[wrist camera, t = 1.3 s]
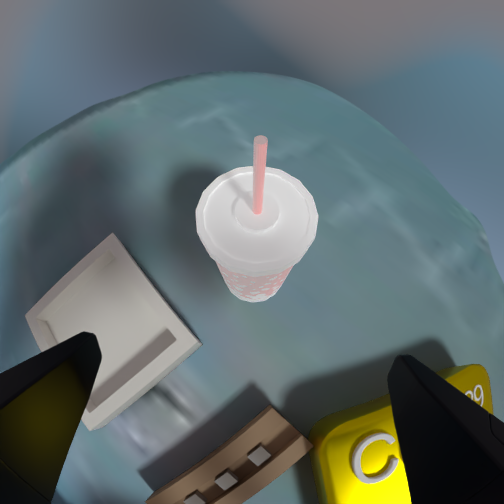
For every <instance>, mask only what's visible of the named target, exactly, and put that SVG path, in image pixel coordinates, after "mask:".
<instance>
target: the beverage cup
mask: <svg viewBox="0 0 504 504" xmlns="http://www.w3.org/2000/svg"><path fill="white" fill-rule="evenodd" d="M267 141H268V140H267V138H266V137H265V136H261V135H260V136H256V137H255V138H254V161H253V166H249V167H240V168H236V169H234V170H231V171H229V172H227V173H225V174H223V175H221V176H218V177H217V178H216V179H215V180H214V181H213V182H212V183H211V184H210V185H209V186H208V187H207V188H206V189H205V190H204V191H203V193H202V196H201V198H200V201H199V203H198V206H197V208H196V225H197V233H198V235H199V237H200V240H201V241H202V243H203V245H204V247H205V248H206V250H207V252H208V253H209V255H210V257H211V258H212V259H214V260H215V261H216V263H217V266H218V268H219V270H220V272H221V274H222V276H223V279H224V281H225V283H226V284H227V286H228V288H229V290H230V291H231V293H233V294H234V295H235V296H237V297H238V298H239V299H241V300H245V301H249V302H259V301H265V300H266V299H268V298H270V297H271V296H273V295H275V293H276V292H277V291H278V289H279V288H280V287H281V285H282V284H283V282H284V280H285V279H286V277H287V275H288V274H289V272H290V270H291V269H292V267H293V265H294V264H296V263H297V262H299V261H300V259H301V258H302V257H303V255H304V254H305V252H306V251H307V250H308V248H309V247H310V245H311V243H312V242H313V240H314V239H315V235H316V229H317V223H318V213H317V210H316V206H315V203H314V200H313V197H312V195H311V194H310V193H309V192H308V190H307V189H306V188H305V187H304V186H303V184H302V183H301V182H300V181H299V180H297V179H296V178H294V177H292V176H291V175H289V174H287V173H285V172H284V171H282V170H279V169H274V168H270V167H266V154H267Z"/></svg>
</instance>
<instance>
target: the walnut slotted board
mask: <svg viewBox="0 0 504 504" xmlns="http://www.w3.org/2000/svg"><path fill="white" fill-rule="evenodd" d="M313 447H314V445H313V444H312V443H311V442H310V441H309V440H308V439H307V438H306V437H305V436H304V435H302V434H301V433H300V432H299V431H298V430H297V429H296V428H295V427H294V426H292V425H291V424H290V423H289V422H288V421H287V420H286V419H285V418H284V417H283V416H282V415H281V414H279V413H278V412H277V411H276V410H275V409H274V408H273V407H272V406H271V405H269V406H267V407H266V408H265V409H264V410H263V411H262V412H261V413H260V414H258V415H257V416H256V417H255V418H254V419H253V420H251V421H250V422H249V423H248V424H247V425H245V426H244V427H243V428H242V429H241V430H239V431H238V432H237V433H236V434H235V435H233V436H232V437H231V438H230V439H228V440H227V441H226V442H225V443H223V444H222V445H221V446H219V447H218V448H217V449H216V450H214V451H213V452H212V453H210V454H209V455H208V456H206V457H205V458H203V459H202V460H201V461H199V462H198V463H197V464H195V465H194V466H192V467H191V468H190V469H188V470H187V471H185V472H184V473H182V474H181V475H179V476H178V477H176V478H175V479H173V480H172V481H170V482H169V483H167V484H166V485H164V486H163V487H161V488H160V489H158V490H156V491H155V492H153V494H152V495H151V496H150V497H149V498H148V499H147V500H146V501H145V503H147V504H242V503H243V502H245V501H246V500H247V499H249V498H250V497H252V496H253V495H255V494H256V493H257V492H259V491H260V490H261V489H263V488H264V487H266V486H267V485H268V484H269V483H271V482H272V481H273V480H275V479H276V478H277V477H279V476H280V475H281V474H282V473H284V472H285V471H286V470H287V469H288V468H290V467H291V466H292V465H293V464H294V463H296V462H297V461H298V460H299V459H300V458H301V457H302V456H304V455H305V454H306V453H307V452H308V451H309V450H310V449H311V448H313Z"/></svg>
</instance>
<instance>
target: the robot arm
mask: <svg viewBox="0 0 504 504" xmlns="http://www.w3.org/2000/svg"><path fill="white" fill-rule="evenodd" d="M101 361H102V353H101V350H100V346H99V343H98V340H97V337H96V335H95V334H94V333H90V332H86V331H83V332H81V333H79V334H77V335H75V336H73V337H71V338H69V339H67V340H65V341H63V342H61V343H59V344H57V345H55V346H53V347H51V348H49V349H47V350H45V351H43V352H41V353H39V354H37V355H36V356H34V357H32V358H30V359H28V360H26V361H24V362H22V363H20V364H18V365H16V366H14V367H12V368H10V369H8V370H6V371H4V372H3V373H1V374H0V504H51V501H52V498H53V495H54V492H55V489H56V486H57V483H58V480H59V477H60V474H61V471H62V468H63V465H64V462H65V459H66V456H67V454H68V451H69V448H70V446H71V443H72V440H73V438H74V435H75V433H76V430H77V428H78V425H79V423H80V420H81V418H82V415H83V413H84V411H85V408H86V406H87V403H88V401H89V398H90V395H91V392H92V389H93V385H94V382H95V379H96V376H97V373H98V370H99V367H100V364H101ZM387 381H388V387H389V394H390V400H391V407H392V413H393V420H394V425H395V429H396V433H397V437H398V442H399V446H400V450H401V455H402V459H403V464H404V469H405V473H406V478H407V484H408V489H409V495H410V500H411V504H504V423H503V422H502V421H501V420H499V419H498V418H496V417H495V416H494V415H492V414H491V413H489V412H488V411H487V410H486V409H484V408H483V407H481V406H480V405H479V404H477V403H476V402H475V401H473V400H472V399H471V398H469V397H468V396H467V395H465V394H464V393H462V392H461V391H460V390H458V389H457V388H456V387H454V386H453V385H451V384H450V383H449V382H447V381H446V380H445V379H443V378H442V377H440V376H439V375H438V374H436V373H435V372H434V371H432V370H431V369H429V368H428V367H427V366H425V365H424V364H423V363H421V362H420V361H418V360H417V359H416V358H414V357H413V356H411V355H409V354H405V355H398V356H397V357H396V358H395V360H394V363H393V365H392V367H391V369H390V372H389V374H388V379H387Z"/></svg>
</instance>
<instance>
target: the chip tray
mask: <svg viewBox="0 0 504 504" xmlns="http://www.w3.org/2000/svg"><path fill="white" fill-rule="evenodd" d="M25 318H26V320H27V322H28V325H29V327H30V329H31V331H32V334H33V336H34V338H35V340H36V342H37V344H38V346H39V348H40V350H41V352H43V351H45V350H47V349H49V348H51V347H53V346H55V345H57V344H59V343H61V342H63V341H65V340H67V339H69V338H71V337H73V336H75V335H77V334H79V333H81V332H83V331H86V332H90V333H94V334H95V335H96V337H97V340H98V343H99V346H100V350H101V353H102V361H101V364H100V367H99V370H98V373H97V376H96V379H95V382H94V385H93V389H92V392H91V395H90V398H89V401H88V403H87V406H86V408H85V411H84V413H83V415H82V418H81V420H82V421H83V423H84V424H85V425H86V427H87V428H88V430H89V431H91V430H95V429H98V428H102V427H104V426H105V425H106V424H108V423H109V422H110V421H111V420H113V419H114V418H115V417H116V416H118V415H119V414H120V413H121V412H123V411H124V410H125V409H126V408H128V407H129V406H130V405H131V404H133V403H134V402H135V401H136V400H138V399H139V398H140V397H141V396H142V395H144V394H145V393H146V392H147V391H149V390H150V389H151V388H152V387H153V386H155V385H156V384H157V383H158V382H159V381H161V380H162V379H163V378H164V377H165V376H167V375H168V374H169V373H170V372H171V371H173V370H174V369H175V368H176V367H177V366H178V365H180V364H181V363H182V362H183V361H184V360H186V359H187V358H188V357H189V356H190V355H191V354H193V353H194V352H195V351H196V350H197V349H198V348H199V347H201V346H202V345H203V344H202V343H201V342H200V341H199V340H198V338H197V337H196V336H195V335H194V334H193V333H192V332H191V330H190V329H189V328H188V327H187V326H186V325H185V323H184V322H183V321H182V320H181V319H180V317H179V316H178V315H177V314H176V313H175V311H174V310H173V309H172V308H171V307H170V305H169V304H168V303H167V302H166V300H165V299H164V298H163V297H162V295H161V294H160V293H159V292H158V290H157V289H156V288H155V287H154V285H153V284H152V283H151V281H150V280H149V279H148V278H147V276H146V275H145V274H144V272H143V271H142V270H141V268H140V267H139V266H138V264H137V263H136V262H135V260H134V259H133V258H132V256H131V255H130V253H129V252H128V251H127V249H126V248H125V247H124V245H123V244H122V243H121V241H120V240H119V239H118V238H117V237H116V236H115V234H114V233H112V234H110V235H109V236H108V237H107V238H106V239H104V240H103V241H102V242H101V243H100V244H99V245H97V246H96V247H95V248H94V249H93V250H92V251H91V252H89V253H88V254H87V255H86V256H85V257H84V258H83V259H82V260H81V261H79V262H78V263H77V264H76V265H75V266H74V267H73V268H72V269H71V270H70V271H69V272H68V273H67V274H65V275H64V276H63V277H62V278H61V279H60V280H59V281H58V282H57V283H56V284H55V285H54V286H53V287H52V288H51V289H50V290H49V291H48V292H47V293H46V294H45V295H44V296H43V297H42V298H41V299H40V300H39V301H38V302H37V303H36V304H35V305H34V306H33V307H32V308H31V309H30V310H29V311H28V312H27V314H26V315H25Z"/></svg>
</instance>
